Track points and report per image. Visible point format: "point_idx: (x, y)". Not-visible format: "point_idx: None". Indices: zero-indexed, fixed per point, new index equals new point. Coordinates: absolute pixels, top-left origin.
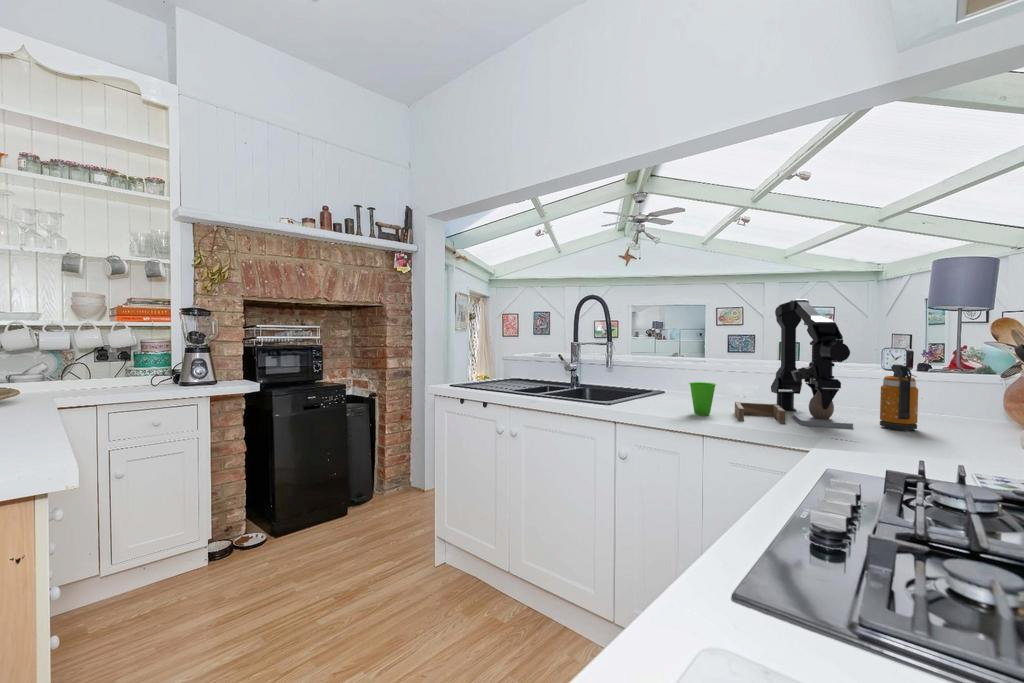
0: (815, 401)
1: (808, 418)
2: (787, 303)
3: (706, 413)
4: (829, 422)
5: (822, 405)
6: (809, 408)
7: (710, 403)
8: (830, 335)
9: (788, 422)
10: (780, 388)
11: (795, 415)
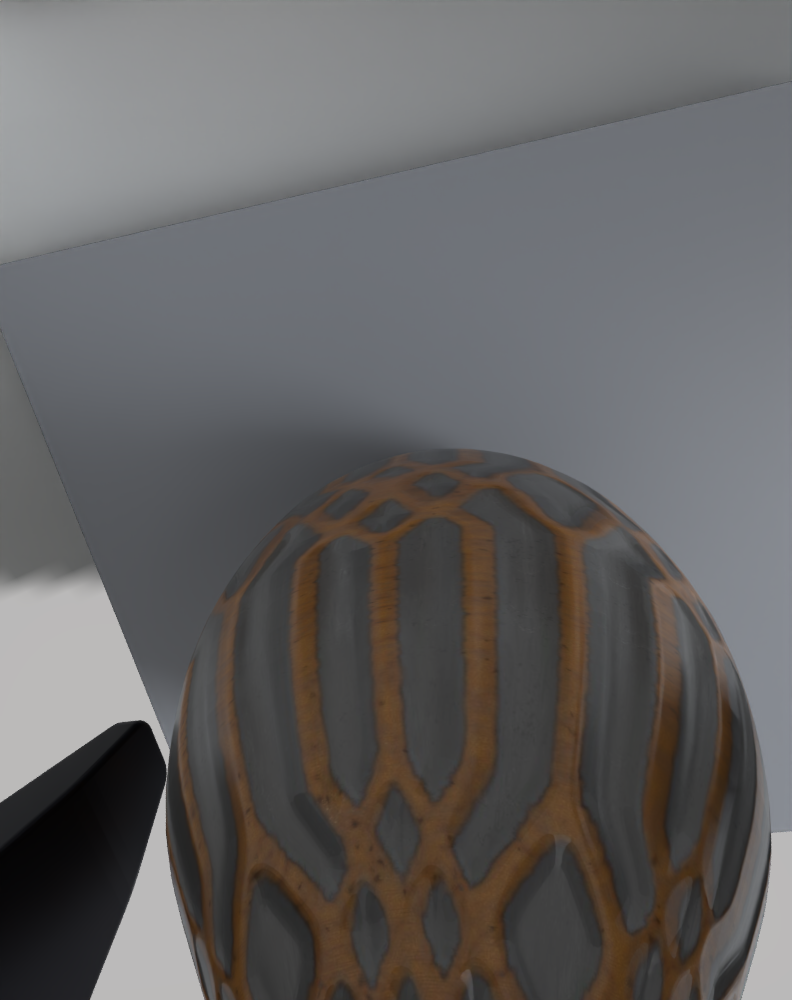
0: (194, 706)
1: (282, 399)
2: None
3: None
4: (136, 655)
5: (44, 773)
6: (370, 469)
7: None
8: None
9: (161, 48)
10: None
11: (532, 155)
